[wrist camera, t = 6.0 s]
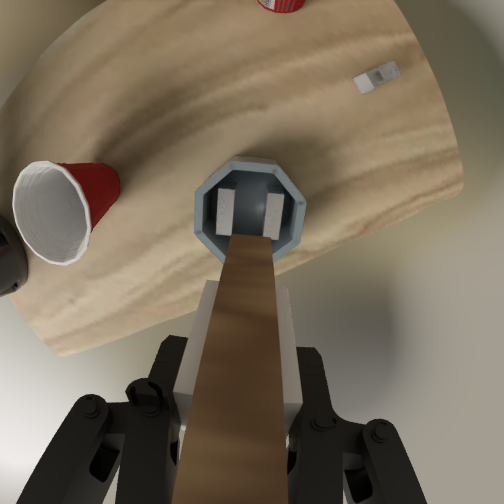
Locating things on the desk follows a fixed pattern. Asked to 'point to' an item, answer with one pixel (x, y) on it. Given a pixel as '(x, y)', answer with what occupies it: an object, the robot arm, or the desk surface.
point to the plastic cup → (62, 206)
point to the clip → (228, 208)
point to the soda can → (282, 5)
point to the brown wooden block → (238, 391)
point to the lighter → (376, 77)
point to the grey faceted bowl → (249, 205)
